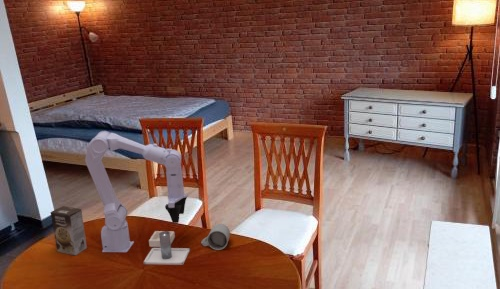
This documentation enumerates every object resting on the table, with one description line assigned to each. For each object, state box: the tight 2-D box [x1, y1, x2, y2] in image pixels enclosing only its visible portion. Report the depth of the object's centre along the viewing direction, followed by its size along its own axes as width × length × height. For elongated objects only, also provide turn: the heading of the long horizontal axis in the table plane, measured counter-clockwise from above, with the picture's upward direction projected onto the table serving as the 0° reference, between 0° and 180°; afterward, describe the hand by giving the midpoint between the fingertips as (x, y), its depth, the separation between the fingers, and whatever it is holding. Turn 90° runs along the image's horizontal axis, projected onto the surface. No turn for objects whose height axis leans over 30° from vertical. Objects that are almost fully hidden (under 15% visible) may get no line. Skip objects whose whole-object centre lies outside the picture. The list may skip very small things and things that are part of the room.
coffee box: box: [50, 205, 88, 256], centre depth 164 cm, size 9×6×16 cm
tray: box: [142, 247, 191, 266], centre depth 158 cm, size 14×10×1 cm
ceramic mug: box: [201, 223, 231, 251], centre depth 165 cm, size 11×8×8 cm
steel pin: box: [159, 230, 172, 259], centre depth 156 cm, size 4×4×9 cm
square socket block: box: [148, 230, 176, 248], centre depth 168 cm, size 8×8×3 cm
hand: (178, 217), depth 165 cm, fingers open, 7 cm apart
